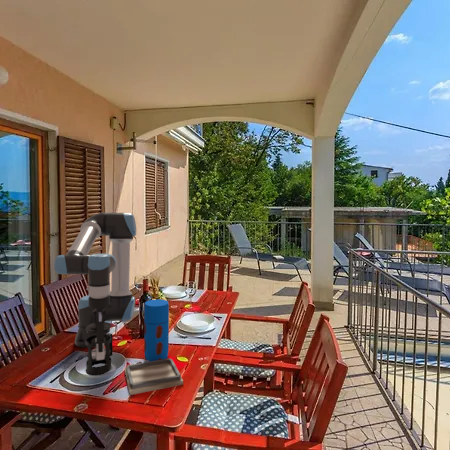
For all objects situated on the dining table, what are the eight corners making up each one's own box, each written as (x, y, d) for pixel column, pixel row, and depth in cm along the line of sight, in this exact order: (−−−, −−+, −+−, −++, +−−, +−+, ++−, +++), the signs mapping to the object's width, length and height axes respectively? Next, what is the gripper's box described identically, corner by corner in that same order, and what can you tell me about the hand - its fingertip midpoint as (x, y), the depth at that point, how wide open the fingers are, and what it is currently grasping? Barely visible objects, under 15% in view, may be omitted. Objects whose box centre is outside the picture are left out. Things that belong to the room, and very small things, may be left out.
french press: (97, 379, 120) (96, 317, 118) (78, 373, 124) (77, 312, 122) (120, 364, 131) (120, 307, 129) (102, 359, 135) (101, 303, 133)
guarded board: (124, 371, 138) (124, 364, 138) (171, 363, 146) (171, 356, 146) (130, 395, 122) (130, 387, 122) (183, 384, 130) (183, 377, 129)
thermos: (147, 363, 145) (147, 307, 144) (141, 353, 155) (141, 300, 153) (171, 359, 150) (172, 304, 149) (164, 349, 160) (164, 298, 158)
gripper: (88, 288, 133) (88, 343, 135) (88, 305, 113) (89, 369, 115) (107, 287, 136) (108, 340, 138) (112, 303, 116) (112, 365, 118)
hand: (99, 353), depth 127 cm, fingers closed on french press, 9 cm apart
